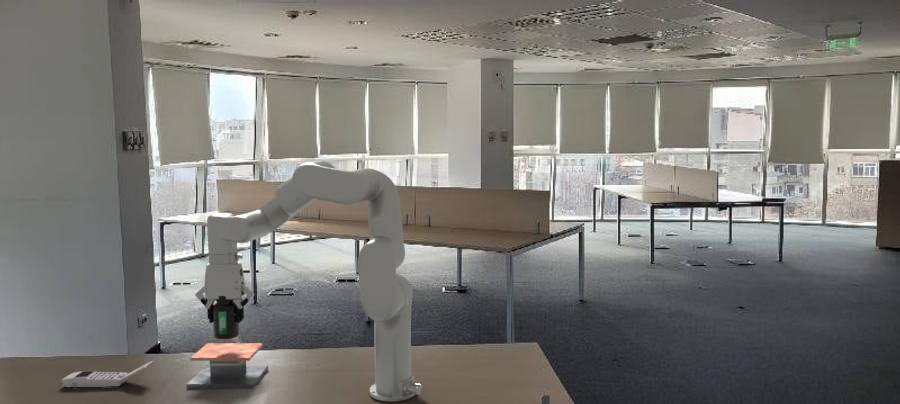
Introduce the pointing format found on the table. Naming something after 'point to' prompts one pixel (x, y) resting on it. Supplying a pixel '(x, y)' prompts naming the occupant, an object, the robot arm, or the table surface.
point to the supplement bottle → (225, 319)
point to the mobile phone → (99, 378)
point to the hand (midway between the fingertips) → (226, 321)
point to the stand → (227, 366)
